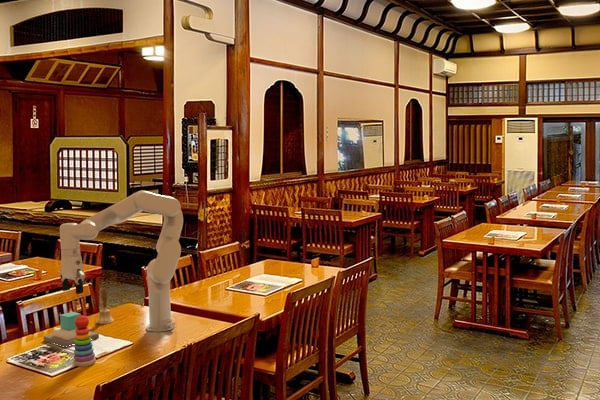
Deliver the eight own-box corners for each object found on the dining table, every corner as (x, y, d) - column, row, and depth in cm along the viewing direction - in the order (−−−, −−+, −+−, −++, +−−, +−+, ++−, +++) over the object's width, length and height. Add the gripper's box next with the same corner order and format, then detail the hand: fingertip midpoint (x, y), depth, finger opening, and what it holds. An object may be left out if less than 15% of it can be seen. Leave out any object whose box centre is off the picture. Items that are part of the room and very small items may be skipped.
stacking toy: (76, 360, 236) (74, 312, 234) (97, 359, 237) (96, 312, 235) (70, 367, 228) (68, 318, 226) (92, 366, 229) (90, 317, 227)
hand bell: (117, 319, 292) (115, 286, 291) (109, 324, 284) (108, 290, 283) (100, 318, 293) (99, 286, 292) (92, 323, 285) (91, 290, 284)
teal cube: (81, 327, 262) (80, 313, 261) (68, 331, 257) (68, 317, 257) (73, 325, 266) (72, 311, 265) (60, 328, 261) (60, 314, 260)
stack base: (98, 338, 263) (98, 326, 263) (65, 348, 251) (64, 336, 250) (77, 331, 273) (76, 320, 273) (43, 340, 260) (43, 329, 260)
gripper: (90, 252, 257) (92, 292, 259) (66, 249, 267) (69, 287, 269) (74, 255, 251) (77, 296, 253) (51, 251, 261) (53, 291, 263)
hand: (73, 291), depth 261 cm, fingers open, 9 cm apart
